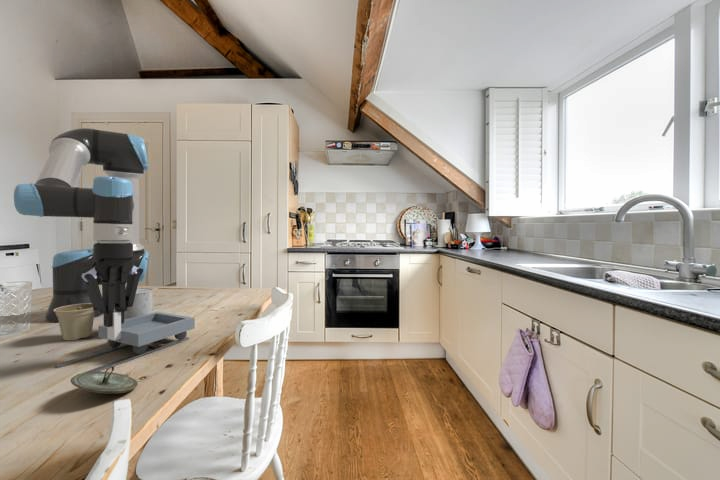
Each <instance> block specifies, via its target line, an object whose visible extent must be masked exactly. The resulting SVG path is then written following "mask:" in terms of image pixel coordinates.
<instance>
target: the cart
mask: <svg viewBox="0 0 720 480" xmlns="http://www.w3.org/2000/svg"><path fill="white" fill-rule="evenodd" d="M195 318H196V317H190V316H185V315H179V314H175V313H167V312H161V311H155V312H153V313H150V314H146V315H141V316H137V317H133V318H129V319H125V320H124V323H123V324H121V339H118V340H111V339H107V327H105V326H104V324H100V325H98V333H97V334H98V338H99V339H104V340H107V346H108V347H109V348H112V347H113V348H116V347H118V346H119V345H122V344H128V346H133V347H132V352H133V353H134V354H143V353H144V352H145V351H147V350H148V348H149V346H148V345H147V344H149V343H152V342H158V341H160V340H163V339H167V338H169V337H173V336H174V338H175V339H176V340H182V339H184V338H185V337H187V335H188V333H187V331H191V330H194V329H196V328H195Z"/></svg>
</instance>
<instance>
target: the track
mask: <svg viewBox="0 0 720 480" xmlns="http://www.w3.org/2000/svg"><path fill="white" fill-rule="evenodd" d="M187 340H190V338H189V337H188V336H186V337H185V338H184V339H182V340H179V339H176V340H173V341H170V342H168V343H161V342H157V341H155V342H152V343H149V344H147V345H148V347H153V348H151V349H147V350H146V351H145V352H144V353H143V354H137V353H135V354H132V355H129V356H126V357H125V358H121V359H119V360H115V361H113V362H110V363H107V364H105V365H102V366H99V367H95V368H93V369H90V370H89V369H88V370H87V371H83V373H86V372H92V371H96V372H98V371H101V372H102V371H103V370H106V369H107V368H108V367H109V366H111V365H114V367H115V366H118V365H121V364H123V363H126V362H128V361H131V360H134V359H137V358H140V357H142V356H145V355H148V354H151V353H153V352H156V351H159V350H162V349H165V348H168V347H171V346H173V345H177V344H179V343H181V342H184V341H187ZM128 346H129V345H128V344H124V343H121V344H120V345H119V346H118V347H116V348H113V347H109V348H106V349H103V350H99V351H96V352H93V353H89V354H86V355H83V356H80V357H77V358H73V359H70V360H67V361H62V362H61V363H58V364H54V368H61V367H65V366H67V365H71V364H74V363H77V362H80V361H83V360H86V359H87V360H88V359H89V358H93V357H96V356H99V355H102V354H105V353H106V354H107V353H108V352H109V353H110V352H112V351H115V350H119V349H121V348H125V347H128Z"/></svg>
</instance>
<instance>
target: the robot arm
mask: <svg viewBox="0 0 720 480" xmlns="http://www.w3.org/2000/svg"><path fill="white" fill-rule="evenodd" d="M48 153H49V156H48V158H47V160H46V161H45V164H44V166H43V168H42V170H41V171H40V173H39V175H38V177H37V179H36V181H35V183H32V182H30V183H19V184H17V185H16V186H15V188H14V190H13V204H14V207H15V210H16V212H17V213H19V214H20V215H23V216H32V217H40V218H41V217H51V218H52V217H56V218H58V217H59V218H60V217H63V218H64V217H67V218H90V219H93V221H92V222H93V223H92V224H93V225H92V228H93V229H92V232H93V233H92V235H93V236H92V237H93V238H92V240H93V241H95V242H94V244H93V248H86V249H85V248H84V249H78V250H77V249H76V250H68V251H62V252H58V253H55V254H54V256H53V257H52V265H51V269H52V298H51V301H50V302H49V305H48V307H47V310H46V313H45V321H47V322H51V323H59V321H58V317H57V316H56V313H55V312H54V311H53V310H54V309H56V308H59V307H63V306H68V305H74V304H85V303H92V307H93V310H94V311H95V314H94V318H95V317H99V316H102V315H103V325H104V326H105V327H107V339H111V340H118V339H121V324H123V323H124V312H125V311H127V308H128V307H132V306H133V303H134V299H135V295H136V290H137V288H138V285H139V283H140V282H143V280H145V278H146V275H147V268H148V262H149V251H147V250H145V246H143V244H141V242H140V183H139V182H140V178H141V177H143V176H144V175H145V171H148V170H149V163H148V157H147V151H146V143H145V140H144V138H142V137H141V136H139V135H134V134H129V133H122V132H114V131H107V130H100V129H95V128H88V127H87V128H85V127H83V128H75V129H71V130H69V131H65V132H63V133H60V134H59V135H57V136H55V137H54V138H53V139H52V140H51V142H50V144H49V146H48ZM86 165H96V166H102V172H104V173H105V174H106V176H103V175H102V176H96V177H94V179H93V182H92V183H93V185H92V188H89V187H80V186H79V187H77V186H78V183H79V180H80V178H81V174H82V172H83V171H82V170H83V169H84V168H83V167H84V166H86ZM100 286H101V289H100ZM114 309H115V311H114ZM107 339H106V340H107Z"/></svg>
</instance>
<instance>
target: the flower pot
mask: <svg viewBox="0 0 720 480" xmlns="http://www.w3.org/2000/svg"><path fill="white" fill-rule="evenodd" d="M53 311H54V312H55V313H56V316H57V317H58V321H59V322H58V323H59V324H58V325H59V328H60V329H59V330H60V334H61V339H62V340H64V341H76V340H80V339H82V338H84V339H85V338H88V337H90V336H91V335H92V334H93V327H94V319H95V317H94V314H95V311H94V310H93V307H92V303H85V304H74V305H68V306H63V307H59V308H56V309H54V310H53Z"/></svg>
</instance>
